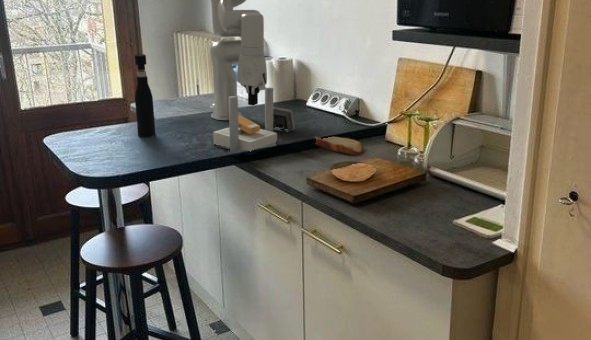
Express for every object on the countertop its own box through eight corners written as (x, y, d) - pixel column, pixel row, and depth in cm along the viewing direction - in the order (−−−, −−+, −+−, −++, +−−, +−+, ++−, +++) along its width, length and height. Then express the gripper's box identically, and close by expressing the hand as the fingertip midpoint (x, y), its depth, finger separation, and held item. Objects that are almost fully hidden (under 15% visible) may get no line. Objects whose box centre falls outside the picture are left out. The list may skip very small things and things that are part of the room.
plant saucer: (322, 181, 175) (322, 173, 174) (336, 166, 188) (336, 158, 187) (369, 188, 170) (370, 180, 169) (380, 172, 183) (381, 164, 182)
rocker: (229, 122, 203) (230, 117, 202) (239, 119, 207) (240, 114, 206) (249, 134, 198) (250, 128, 197) (259, 131, 202) (260, 125, 201)
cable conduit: (224, 154, 196) (222, 97, 189) (234, 150, 200) (233, 94, 193) (234, 157, 193) (233, 99, 186) (244, 153, 197) (243, 97, 190)
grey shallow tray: (213, 145, 205) (213, 128, 203) (240, 136, 215) (240, 120, 213) (250, 156, 195) (249, 138, 192) (276, 146, 205) (277, 129, 203)
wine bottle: (159, 133, 217) (153, 54, 207) (148, 138, 212) (141, 57, 201) (145, 131, 220) (138, 53, 209) (134, 136, 214) (127, 55, 204)
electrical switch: (295, 131, 223) (294, 108, 219) (288, 135, 219) (287, 112, 215) (276, 127, 228) (274, 105, 224) (268, 131, 224) (267, 109, 220)
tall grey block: (259, 142, 209) (259, 88, 202) (268, 139, 213) (268, 86, 206) (269, 145, 206) (269, 90, 199) (278, 141, 210) (278, 88, 203)
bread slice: (312, 140, 214) (312, 130, 212) (360, 141, 213) (360, 131, 212) (312, 156, 197) (313, 145, 195) (364, 157, 197) (365, 146, 195)
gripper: (228, 49, 192) (229, 102, 199) (261, 55, 183) (261, 110, 190) (244, 47, 198) (244, 98, 204) (276, 52, 189) (276, 106, 196)
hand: (252, 104), depth 197 cm, fingers closed
